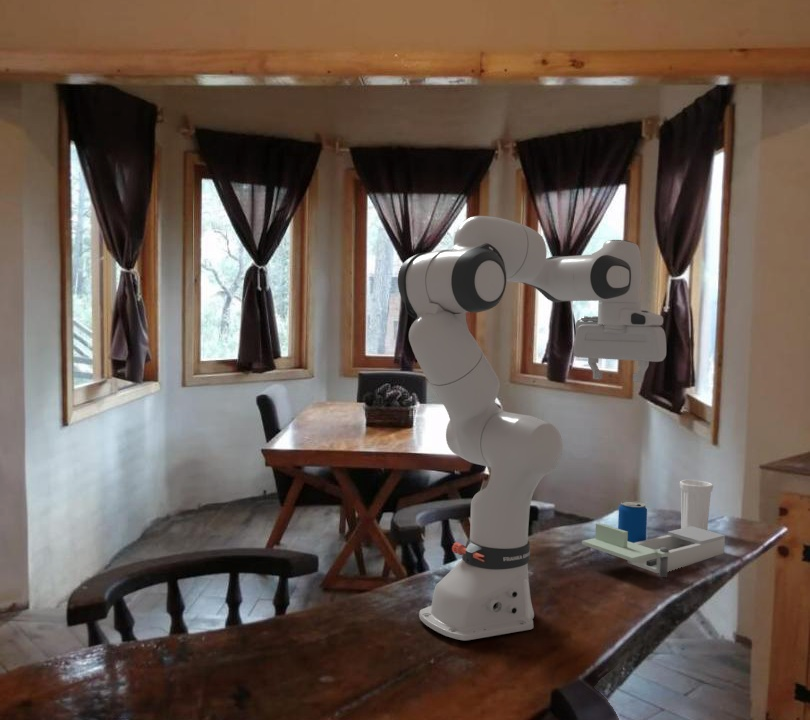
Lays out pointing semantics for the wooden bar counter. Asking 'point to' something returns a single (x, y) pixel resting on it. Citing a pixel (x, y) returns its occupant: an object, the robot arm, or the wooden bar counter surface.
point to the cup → (695, 503)
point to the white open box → (682, 549)
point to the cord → (651, 562)
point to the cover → (621, 544)
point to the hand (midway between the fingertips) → (617, 380)
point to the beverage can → (633, 520)
